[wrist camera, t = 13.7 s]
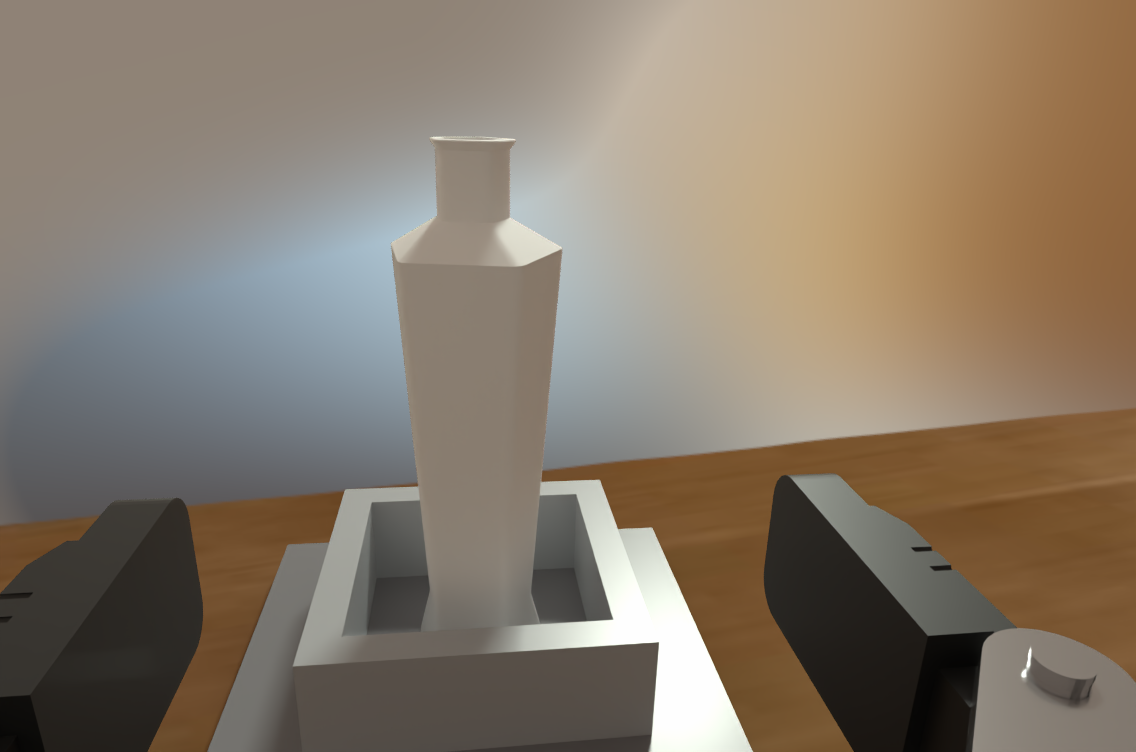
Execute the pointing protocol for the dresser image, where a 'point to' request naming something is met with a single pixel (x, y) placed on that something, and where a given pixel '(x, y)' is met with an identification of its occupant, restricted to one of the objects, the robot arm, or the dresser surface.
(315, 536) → the dresser surface
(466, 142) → the perfume bottle
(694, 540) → the dresser surface
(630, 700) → the collar stand
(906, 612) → the robot arm
